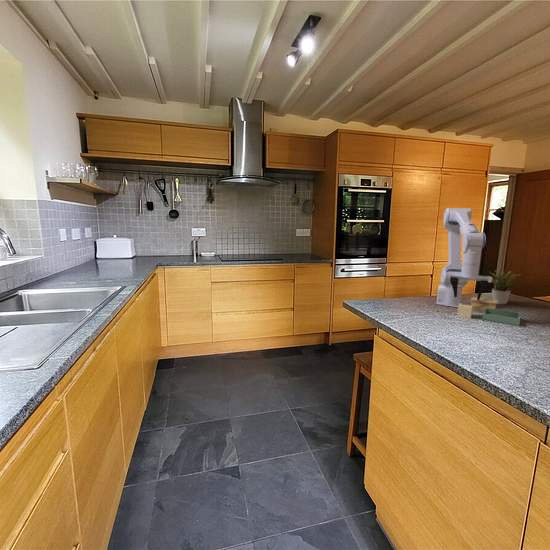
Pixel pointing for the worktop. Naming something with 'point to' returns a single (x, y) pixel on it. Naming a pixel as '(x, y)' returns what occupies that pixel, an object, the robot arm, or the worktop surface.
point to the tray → (501, 316)
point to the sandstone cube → (465, 310)
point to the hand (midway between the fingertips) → (466, 298)
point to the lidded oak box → (482, 304)
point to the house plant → (501, 287)
